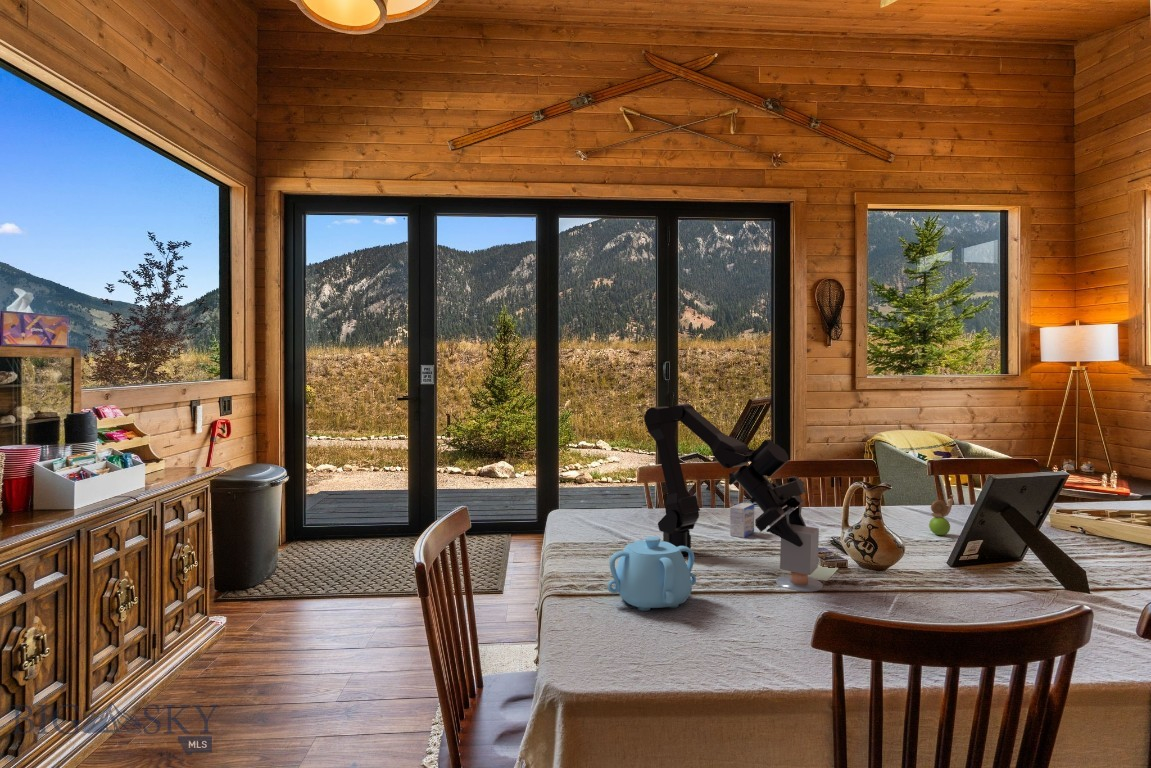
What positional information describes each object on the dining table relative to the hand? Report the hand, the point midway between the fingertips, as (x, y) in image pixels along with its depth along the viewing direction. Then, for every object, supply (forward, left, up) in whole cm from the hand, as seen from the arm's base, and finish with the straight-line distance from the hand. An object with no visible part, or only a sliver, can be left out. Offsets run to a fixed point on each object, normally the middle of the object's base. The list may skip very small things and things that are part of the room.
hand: (805, 542), depth 144 cm
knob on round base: (-1, +1, -10) cm, 10 cm away
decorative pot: (-37, +4, -10) cm, 38 cm away
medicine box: (+13, +42, -10) cm, 45 cm away
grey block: (-1, +1, -6) cm, 6 cm away
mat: (+8, +8, -10) cm, 15 cm away
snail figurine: (+68, +21, -10) cm, 72 cm away
